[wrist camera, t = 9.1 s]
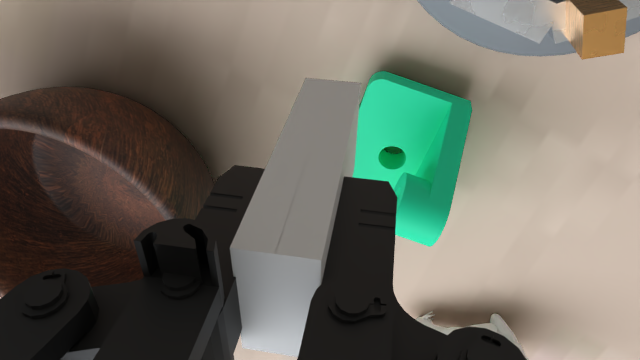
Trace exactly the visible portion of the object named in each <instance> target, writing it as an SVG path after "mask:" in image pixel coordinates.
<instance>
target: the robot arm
mask: <svg viewBox="0 0 640 360" xmlns="http://www.w3.org/2000/svg"><path fill="white" fill-rule="evenodd" d="M360 89H361V83H357V82H345V81H334V80H323V79H312V78H305V81H304V83H303V85H302V87H301V90H300V92H299V94H298V96H297V99H296V101H295V103H294V105H293V108H292V110H291V112H290V114H289V116H288V119H287V121H286V123H285V125H284V128H283V130H282V132H281V134H280V137H279V139H278V141H277V143H276V146H275V148H274V150H273V152H272V154H271V157H270V159H269V161H268V163H267V166H266V168H265V169H262V168H253V167H244V166H236V165H235V166H234V167H232V168H231V169H230V170H228V171H227V172H226V173H224V174H223V175H222V176H220V177H219V178H218V180H217V182H216V183H215V185H214V187H213V189H212V191H211V192H210V196H208V198H207V199H206V201H205V203H204V205H203V208H201V210H200V212H199V213H198V215H197V217H196V219H195V220H193V219H189V218H176V219H170V220H166V221H162V222H158V223H156V224H154V225H152V226H150V227H149V228H147V229H145V230H143V231H142V232H141V233H140V234H139V235H138V236H137V237H136V238H135V239H134V240H133V241H134V245H135V248H136V252H137V255H138V258H139V262H140V265H141V269H142V272H143V275H144V277H143V278H142V279H140V280H137V281H132V282H127V283H120V284H111V285H103V286H95V287H91V286H90V283H89V281H88V278H87V277H86V276H85V275H83V274H82V273H80V272H79V271H77V270H71V269H66V268H62V269H54V270H47V271H44V272H42V273H39V274H36V275H33V276H31V277H29V278H28V279H26V280H25V281H23V282H22V283H20V284H18V285H17V286H16V287H14V288H13V289H12V290H11V291H9V292H8V293H7V294H6V295H5V296H3V297H2V298H1V299H0V360H234V356H233V353H234V350H235V348H236V345H237V342H238V339H239V336H240V333H241V340H242V347H243V348H245V349H251V350H257V351H264V352H270V353H276V354H282V355H289V356H295V357H298V359H297V360H527V359H526V358H525V356H524V355H523V354H522V352H521V351H520V349H519V348H518V347H517V346H516V345H515V344H513V343H512V342H511V341H510V340H508V339H507V338H506V337H505V336H503V335H501V334H498V333H496V332H494V331H491V330H489V329H487V328H479V327H470V326H469V327H464V328H460V329H456V330H453V331H452V332H451V333H450V334H448V335H446V334H444V333H441V332H439V331H437V330H435V329H432V328H430V327H428V326H426V325H424V324H422V323H420V322H419V321H417V320H415V319H413V318H412V317H411V316H410V315H409V314H408V313H406V312H405V311H404V310H403V308H402V307H401V306H400V304H399V303H398V302H397V299H396V297H395V295H394V292H393V266H394V248H395V228H396V211H397V196H396V194H395V192H394V190H393V188H392V187H391V185H390V183H389V181H381V180H372V179H363V178H354V177H353V172H354V165H355V153H356V140H357V127H358V114H359V102H360Z"/></svg>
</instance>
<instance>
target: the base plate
mask: <svg viewBox="0 0 640 360" xmlns="http://www.w3.org/2000/svg"><path fill="white" fill-rule="evenodd" d="M417 1H418V2H419V3H420V4H421V5H422V6H423V8H424V9H425V10H426V11H427V12H428V13H429V14H430V15H431V16H432V17H434V18H435V19H436V20H437V21H438V22H439V23H440V24H441V25H443V26H444V27H446V28H447V29H449V30H450V31H452V32H453V33H455V34H456V35H458V36H459V37H461V38H464V39H466V40H468V41H470V42H472V43H474V44H476V45H478V46H482V47H485V48H488V49H491V50H495V51H498V52H503V53H509V54H515V55H524V56H552V55H565V54H570V53H575V52H576V50H575V49H574V48H573V46H572V45H571V43H570V42H569V41H568V40H566V41H563V42H560V43H557V44H555V43H554V41H553V40H552V38H551V36H550V35H549V33H548V32H547V33H546V35H545V36H544V38H543V39H542V41H541V42H540V44H539V43H537V42H535V41H532V40H530V39H528V38H526V37H524V36H521V35H519V34H517V33H515V32H512V31H510V30H508V29H506V28H503V27H501V26H499V25H497V24H494V23H492V22H490V21H488V20H485V19H483V18H481V17H479V16H476V15H474V14H472V13H470V12H467V11H465V10H463V9H461V8H459V7H456V6H454V5H452V4H450V3H449V0H417ZM639 31H640V16H639V17H636V18H633V19H630V20H627V21H626V32H625V37H628V36H630V35H632V34H635V33H637V32H639Z"/></svg>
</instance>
